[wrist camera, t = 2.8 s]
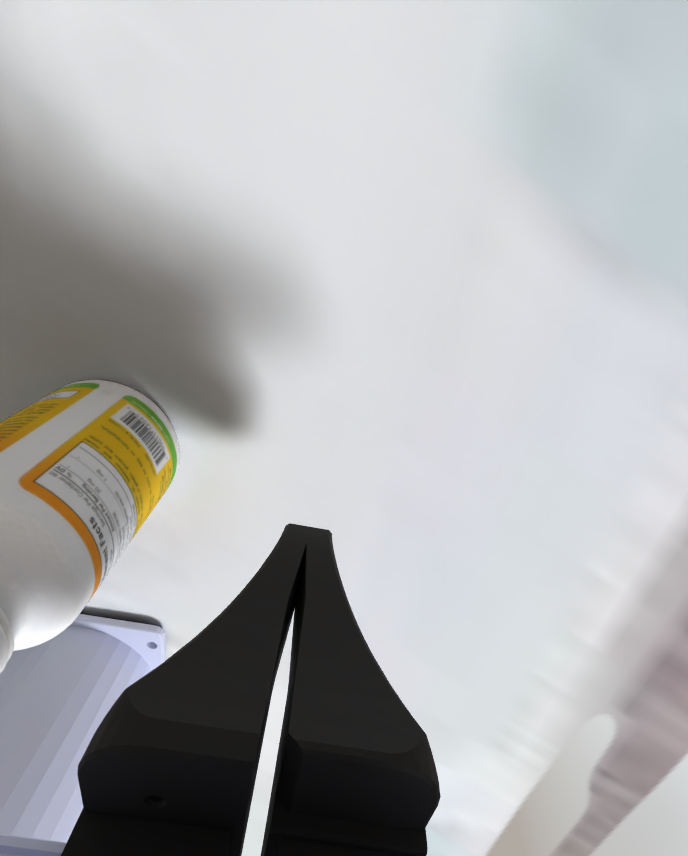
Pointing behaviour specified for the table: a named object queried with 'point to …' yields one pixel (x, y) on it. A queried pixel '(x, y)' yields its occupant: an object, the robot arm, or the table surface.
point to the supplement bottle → (73, 500)
